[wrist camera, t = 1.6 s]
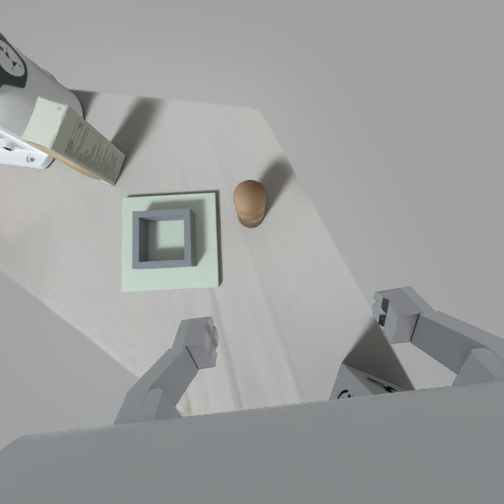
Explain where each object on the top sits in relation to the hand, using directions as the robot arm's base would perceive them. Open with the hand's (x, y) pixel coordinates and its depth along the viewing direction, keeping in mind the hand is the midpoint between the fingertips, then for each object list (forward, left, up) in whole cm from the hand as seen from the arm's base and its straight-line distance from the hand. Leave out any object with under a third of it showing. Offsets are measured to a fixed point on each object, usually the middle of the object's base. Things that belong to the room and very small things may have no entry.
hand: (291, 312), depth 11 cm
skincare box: (-27, +22, -26) cm, 43 cm away
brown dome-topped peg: (-2, +12, -26) cm, 29 cm away
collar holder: (-16, +8, -26) cm, 31 cm away
